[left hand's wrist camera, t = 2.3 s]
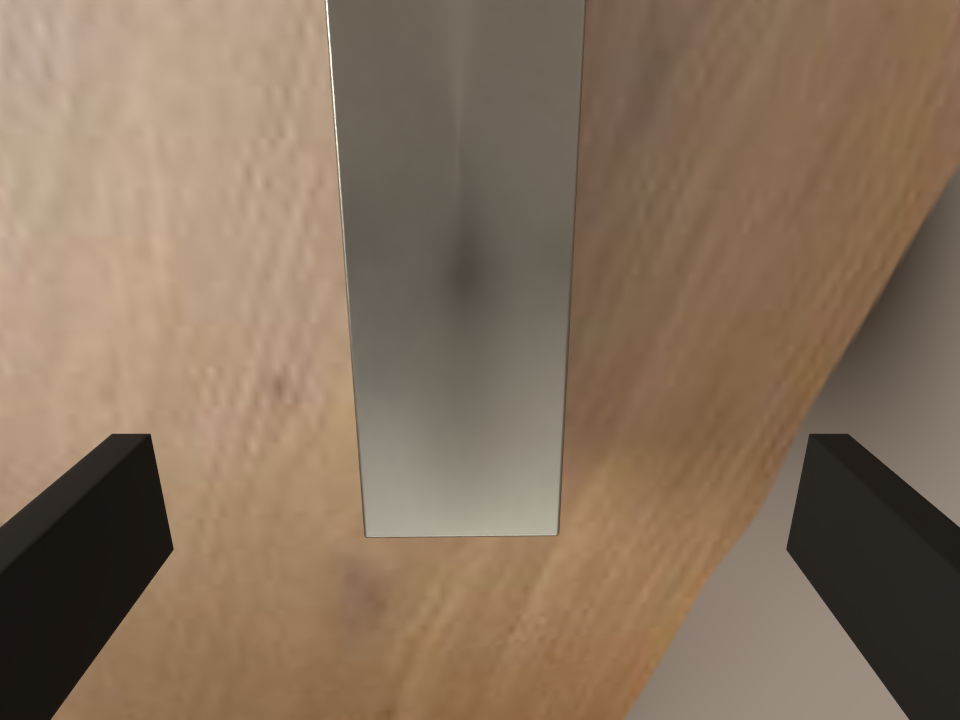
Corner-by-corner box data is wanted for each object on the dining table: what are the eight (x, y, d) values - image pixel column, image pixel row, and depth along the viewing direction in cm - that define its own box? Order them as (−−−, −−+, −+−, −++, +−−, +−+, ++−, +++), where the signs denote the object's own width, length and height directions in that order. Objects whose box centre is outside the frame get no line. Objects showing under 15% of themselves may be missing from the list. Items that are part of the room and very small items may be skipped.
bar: (532, 417, 26) (559, 537, 18) (394, 418, 25) (363, 539, 18) (554, -253, 18) (613, -516, 11) (360, -255, 18) (285, -521, 11)
